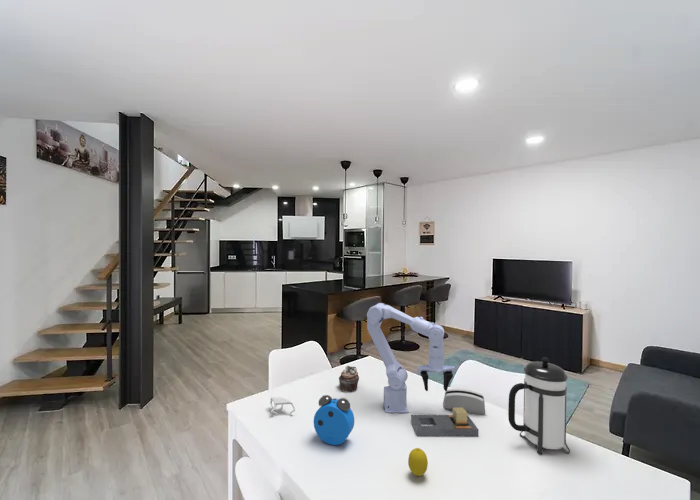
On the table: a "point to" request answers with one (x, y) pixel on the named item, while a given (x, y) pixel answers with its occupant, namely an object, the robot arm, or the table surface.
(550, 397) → the coffee press
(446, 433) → the rail plate
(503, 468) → the table surface
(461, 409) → the brass peg
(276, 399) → the miniature table
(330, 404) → the alarm clock
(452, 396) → the grey rounded block
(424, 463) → the lemon
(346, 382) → the cupcake
